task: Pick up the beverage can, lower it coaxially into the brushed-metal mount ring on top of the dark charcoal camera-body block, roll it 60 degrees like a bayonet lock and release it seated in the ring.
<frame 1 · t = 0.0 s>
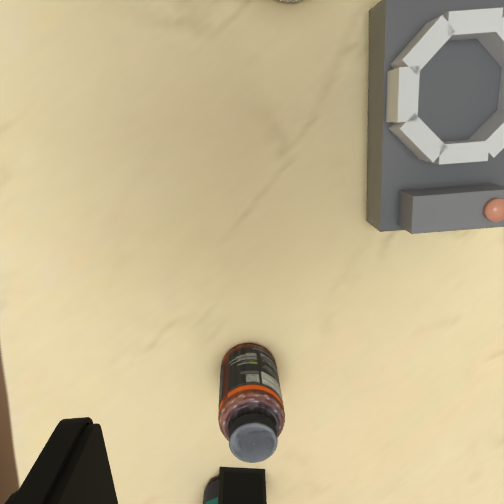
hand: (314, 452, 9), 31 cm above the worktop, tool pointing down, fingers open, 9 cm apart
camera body: (428, 118, 37), on the worktop
supplement bottle: (248, 364, 44), on the worktop
speaker: (234, 489, 50), on the worktop
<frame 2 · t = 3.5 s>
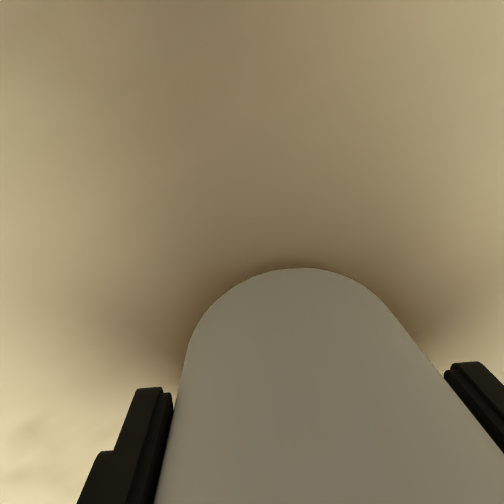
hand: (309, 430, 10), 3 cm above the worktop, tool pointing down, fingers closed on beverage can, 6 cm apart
beverage can: (291, 352, 13), on the worktop, touching gripper
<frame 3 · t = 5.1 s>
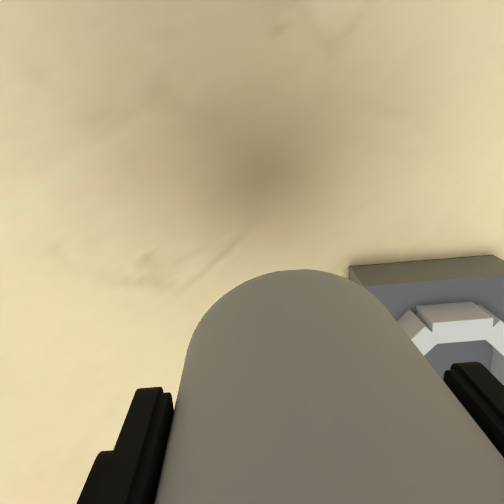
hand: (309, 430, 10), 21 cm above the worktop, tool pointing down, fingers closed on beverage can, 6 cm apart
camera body: (415, 363, 34), on the worktop
beverage can: (291, 353, 13), point 18 cm above the worktop, touching gripper
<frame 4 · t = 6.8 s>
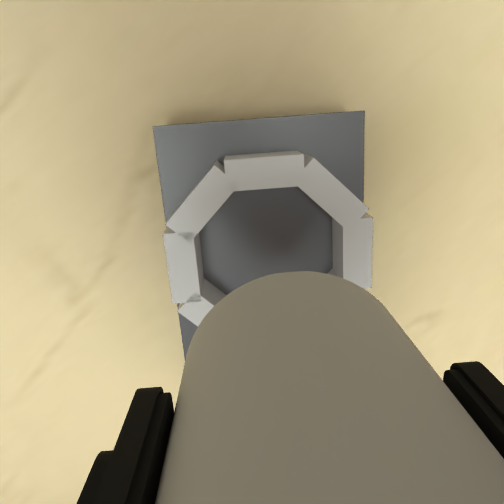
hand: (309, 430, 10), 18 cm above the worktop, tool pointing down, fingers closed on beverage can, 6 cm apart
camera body: (264, 258, 28), on the worktop
beverage can: (291, 355, 13), point 15 cm above the worktop, touching gripper
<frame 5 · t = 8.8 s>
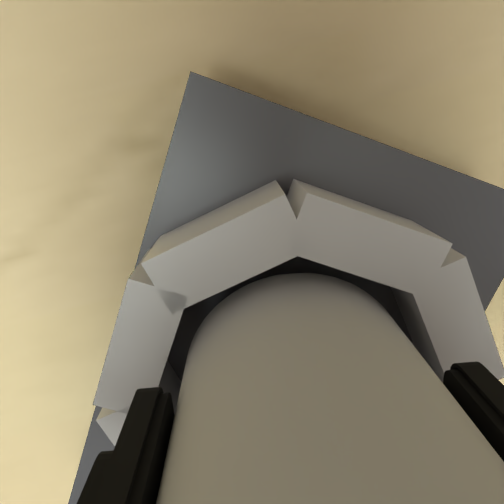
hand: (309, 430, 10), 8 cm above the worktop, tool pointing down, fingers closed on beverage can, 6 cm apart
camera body: (262, 340, 18), on the worktop
beverage can: (291, 356, 13), point 5 cm above the worktop, touching gripper
when the fingers open (8 cm above the worktop, at t = 10.1 s): beverage can stays where it is, resting on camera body.
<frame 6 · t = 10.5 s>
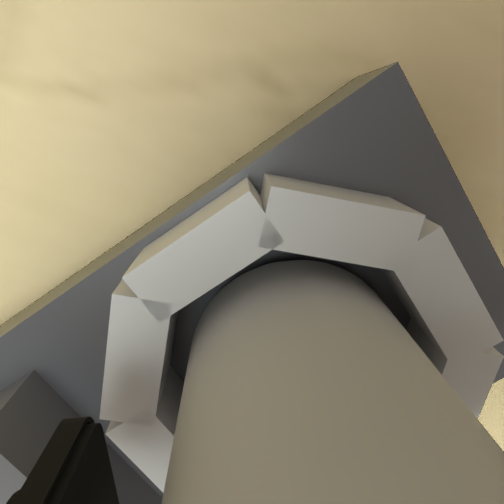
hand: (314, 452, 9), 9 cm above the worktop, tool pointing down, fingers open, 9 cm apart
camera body: (239, 317, 18), on the worktop
beverage can: (289, 340, 14), point 4 cm above the worktop, touching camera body
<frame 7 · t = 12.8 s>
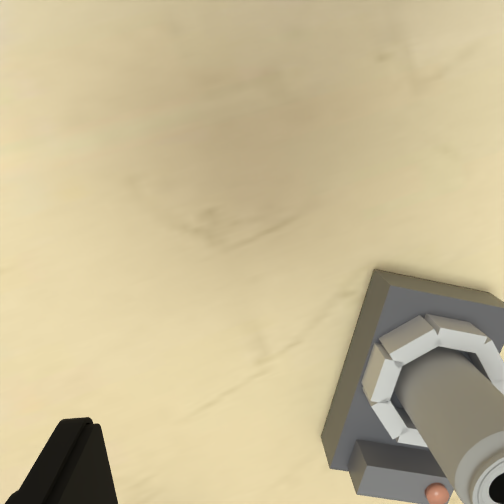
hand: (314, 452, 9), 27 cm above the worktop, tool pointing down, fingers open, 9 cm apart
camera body: (401, 368, 39), on the worktop
beverage can: (426, 372, 35), point 4 cm above the worktop, touching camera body
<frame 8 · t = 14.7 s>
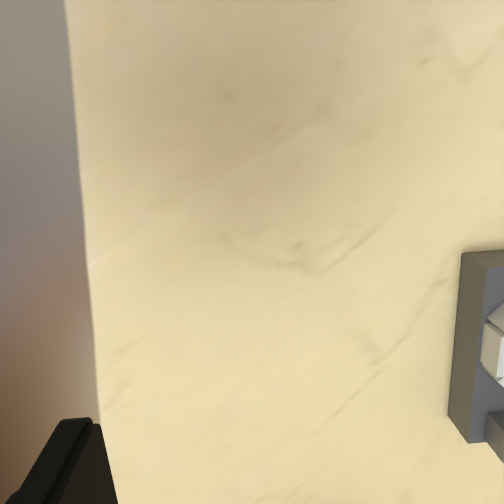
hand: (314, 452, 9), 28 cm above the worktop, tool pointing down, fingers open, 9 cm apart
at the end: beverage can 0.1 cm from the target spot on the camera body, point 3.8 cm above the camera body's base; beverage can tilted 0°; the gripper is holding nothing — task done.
